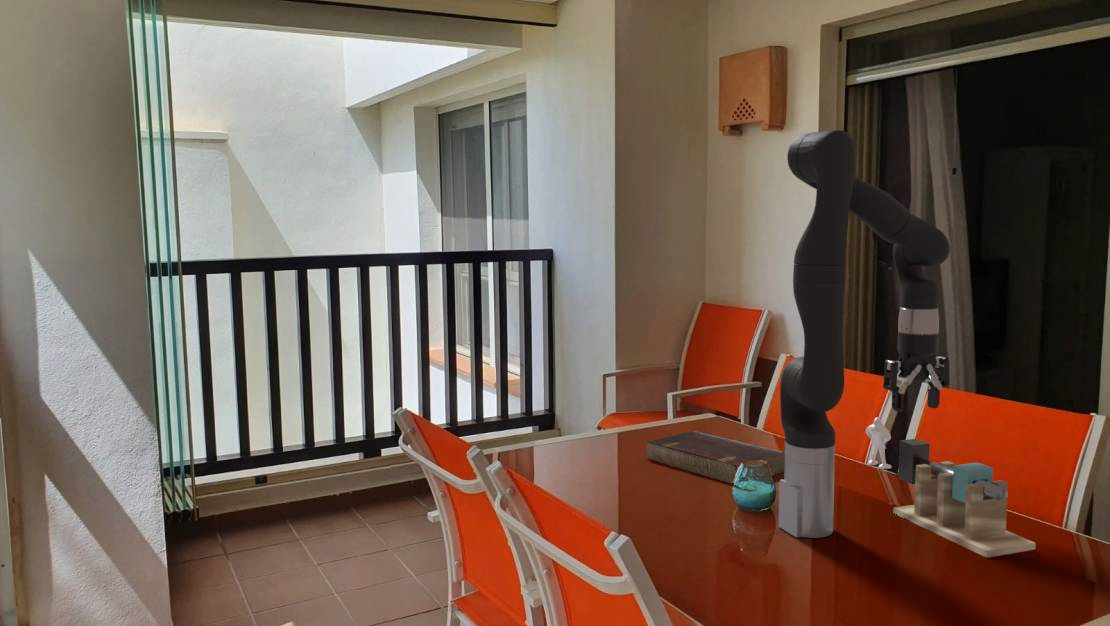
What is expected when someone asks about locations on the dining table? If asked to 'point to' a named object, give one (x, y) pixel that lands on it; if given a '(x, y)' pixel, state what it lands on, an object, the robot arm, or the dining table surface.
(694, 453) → the hardback book
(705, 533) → the dining table surface
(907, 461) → the shaft
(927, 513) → the bracket
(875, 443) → the figurine
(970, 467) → the block
